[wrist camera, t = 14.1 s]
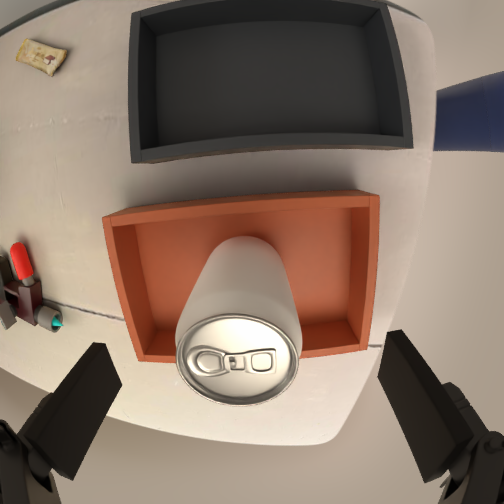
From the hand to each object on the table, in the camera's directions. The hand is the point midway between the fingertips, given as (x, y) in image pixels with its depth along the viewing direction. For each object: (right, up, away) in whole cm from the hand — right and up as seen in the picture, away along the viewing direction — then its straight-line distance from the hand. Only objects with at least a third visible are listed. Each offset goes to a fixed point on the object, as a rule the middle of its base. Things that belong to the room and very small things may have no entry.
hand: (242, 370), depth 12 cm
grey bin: (+2, +19, +7) cm, 20 cm away
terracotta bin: (0, +4, +12) cm, 13 cm away
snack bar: (-22, +26, +6) cm, 34 cm away
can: (0, +4, +12) cm, 13 cm away
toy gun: (-25, +2, +13) cm, 28 cm away
